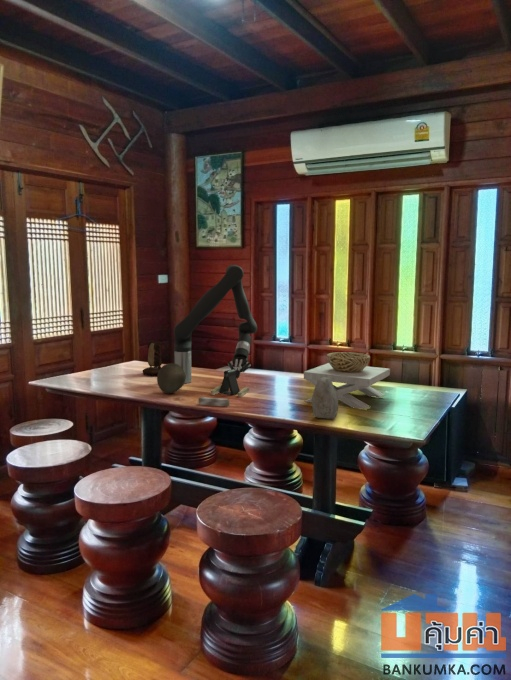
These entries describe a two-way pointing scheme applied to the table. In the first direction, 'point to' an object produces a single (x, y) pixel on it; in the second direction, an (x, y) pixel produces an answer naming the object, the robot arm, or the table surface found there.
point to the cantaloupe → (171, 378)
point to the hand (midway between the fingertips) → (236, 377)
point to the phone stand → (229, 383)
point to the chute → (217, 400)
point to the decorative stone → (324, 399)
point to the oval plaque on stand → (153, 358)
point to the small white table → (349, 376)
